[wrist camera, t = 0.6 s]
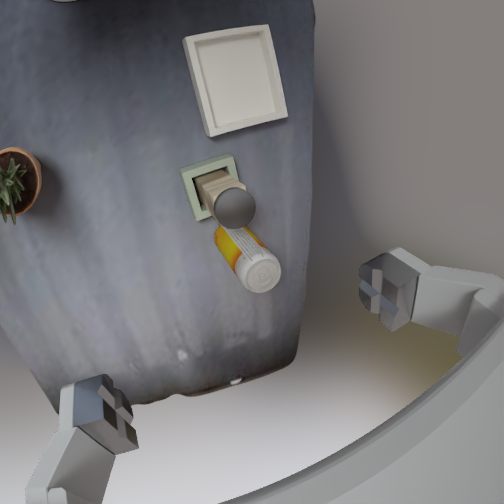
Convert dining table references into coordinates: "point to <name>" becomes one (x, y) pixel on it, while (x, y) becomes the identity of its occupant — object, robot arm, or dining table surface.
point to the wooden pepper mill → (225, 199)
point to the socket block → (201, 168)
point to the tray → (235, 78)
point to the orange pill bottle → (248, 258)
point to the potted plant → (18, 181)
